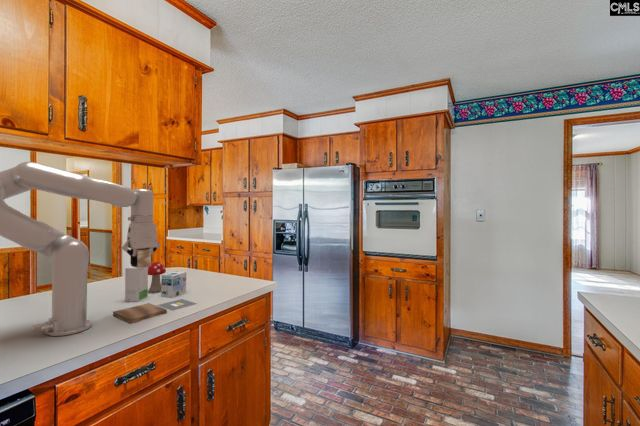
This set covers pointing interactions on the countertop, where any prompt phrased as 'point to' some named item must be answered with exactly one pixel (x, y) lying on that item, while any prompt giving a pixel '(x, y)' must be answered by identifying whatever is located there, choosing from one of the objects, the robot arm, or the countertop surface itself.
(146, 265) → the birch block
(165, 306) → the mat
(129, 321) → the walnut board
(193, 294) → the countertop surface
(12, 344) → the countertop surface
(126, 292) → the skincare box
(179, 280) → the light bulb box
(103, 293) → the countertop surface
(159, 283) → the decorative mushroom
